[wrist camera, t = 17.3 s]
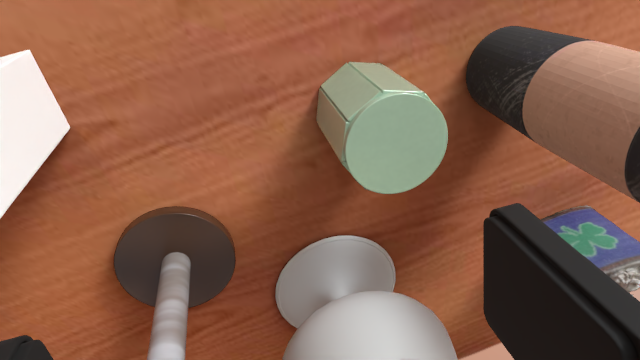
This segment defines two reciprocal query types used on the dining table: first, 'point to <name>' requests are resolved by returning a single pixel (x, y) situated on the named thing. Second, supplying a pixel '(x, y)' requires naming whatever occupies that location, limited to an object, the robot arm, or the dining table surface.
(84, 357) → the dining table surface
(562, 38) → the travel mug
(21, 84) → the milk
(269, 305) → the dining table surface
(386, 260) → the chalice
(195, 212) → the towel holder
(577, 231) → the flask
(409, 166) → the green cup
